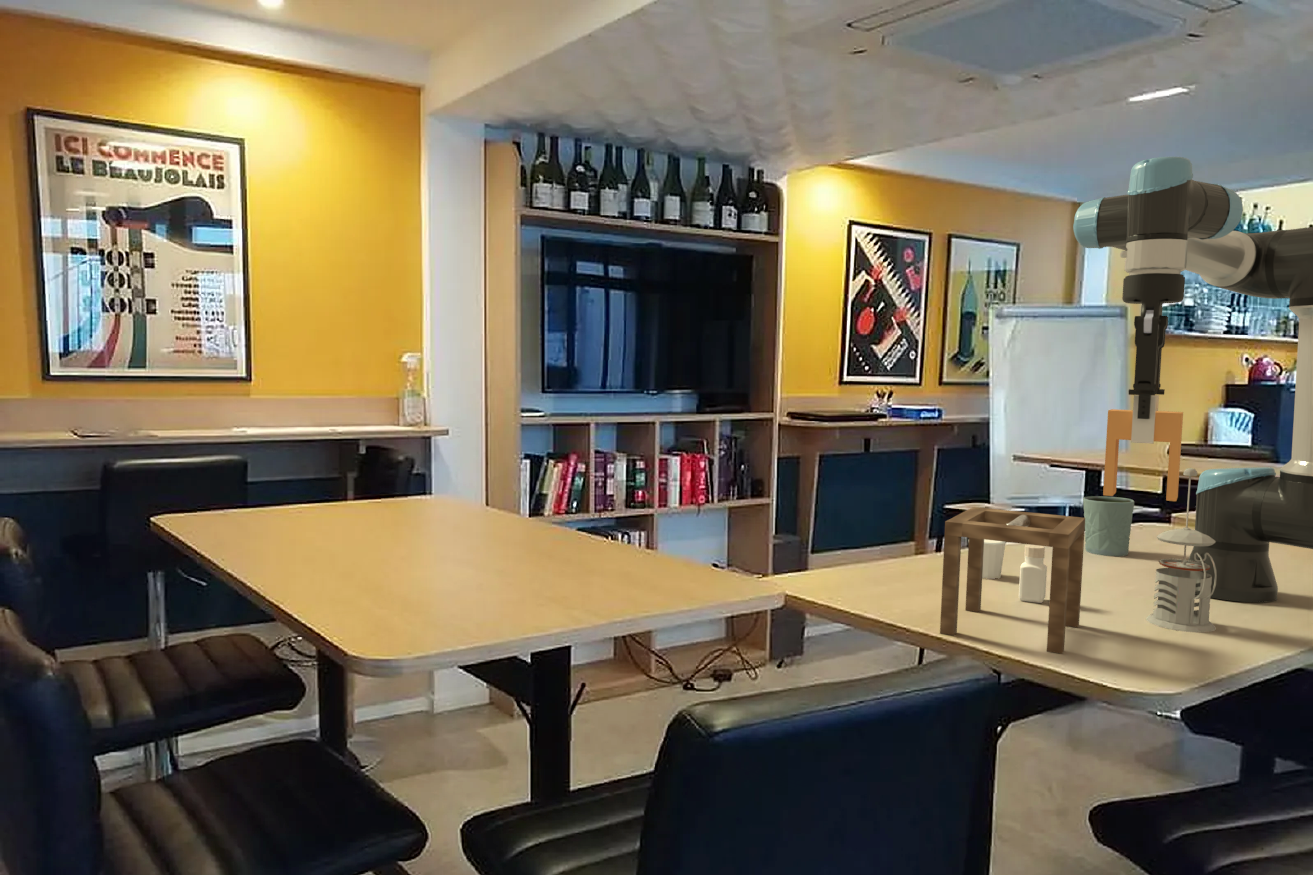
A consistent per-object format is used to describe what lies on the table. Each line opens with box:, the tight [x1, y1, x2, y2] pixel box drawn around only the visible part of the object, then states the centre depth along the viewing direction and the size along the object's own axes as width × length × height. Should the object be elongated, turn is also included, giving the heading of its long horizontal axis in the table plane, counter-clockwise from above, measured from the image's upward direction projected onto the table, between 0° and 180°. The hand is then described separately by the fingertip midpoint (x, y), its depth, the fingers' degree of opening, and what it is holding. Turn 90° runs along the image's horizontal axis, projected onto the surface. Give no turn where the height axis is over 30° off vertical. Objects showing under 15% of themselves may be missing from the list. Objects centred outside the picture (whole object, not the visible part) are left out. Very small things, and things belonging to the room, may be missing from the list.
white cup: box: [968, 539, 1007, 580], centre depth 177 cm, size 7×7×7 cm
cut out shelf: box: [939, 506, 1085, 655], centre depth 140 cm, size 17×18×17 cm
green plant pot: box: [1082, 495, 1135, 557], centre depth 203 cm, size 10×10×12 cm
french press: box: [1145, 467, 1217, 633], centre depth 144 cm, size 10×12×25 cm
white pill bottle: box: [1018, 544, 1048, 604], centre depth 159 cm, size 4×4×10 cm
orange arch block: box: [1102, 408, 1184, 502], centre depth 129 cm, size 9×5×12 cm, turn 58°
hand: (1143, 441), depth 128 cm, fingers closed on orange arch block, 5 cm apart
